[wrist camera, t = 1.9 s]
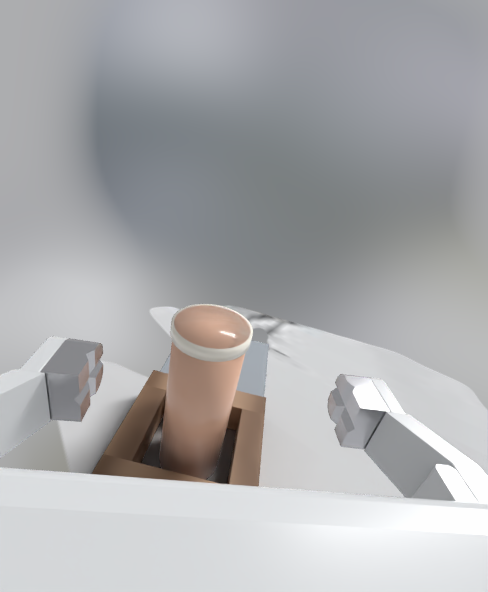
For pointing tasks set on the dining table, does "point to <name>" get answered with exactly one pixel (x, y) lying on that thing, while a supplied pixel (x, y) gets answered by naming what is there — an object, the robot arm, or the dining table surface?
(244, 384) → the grey mat
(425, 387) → the dining table surface
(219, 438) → the peach tumbler
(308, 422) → the dining table surface
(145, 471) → the walnut holder
